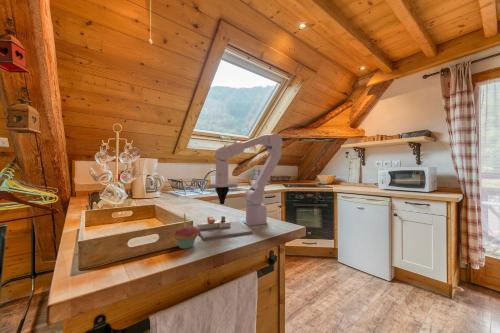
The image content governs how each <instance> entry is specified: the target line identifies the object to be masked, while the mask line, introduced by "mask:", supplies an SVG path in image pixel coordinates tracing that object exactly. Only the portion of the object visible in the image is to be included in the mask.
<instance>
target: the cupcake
mask: <svg viewBox="0 0 500 333" xmlns="http://www.w3.org/2000/svg"><path fill="white" fill-rule="evenodd" d="M183 225H184V227H182V228H180V229H178V230H177V231H176V233H175V234H174V235H175V238H174V239H177V240H178V242H177V244H178V243H179V245H178V247H179V248H180V249H189V248H192V247H193V246H194V244H195V241H196V238H198V236H199V233H198V230H197V228H196V227H195V226H193V225H190V226H186V225H187V217H186V213H185V212H184V213H183ZM177 240H176V241H177Z"/></svg>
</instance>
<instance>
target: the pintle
mask: <svg viewBox="0 0 500 333" xmlns="http://www.w3.org/2000/svg"><path fill="white" fill-rule="evenodd" d="M220 220H221V222H225V220H226V216H225V215H224V216H223V215H222V216H221V219H220Z"/></svg>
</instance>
